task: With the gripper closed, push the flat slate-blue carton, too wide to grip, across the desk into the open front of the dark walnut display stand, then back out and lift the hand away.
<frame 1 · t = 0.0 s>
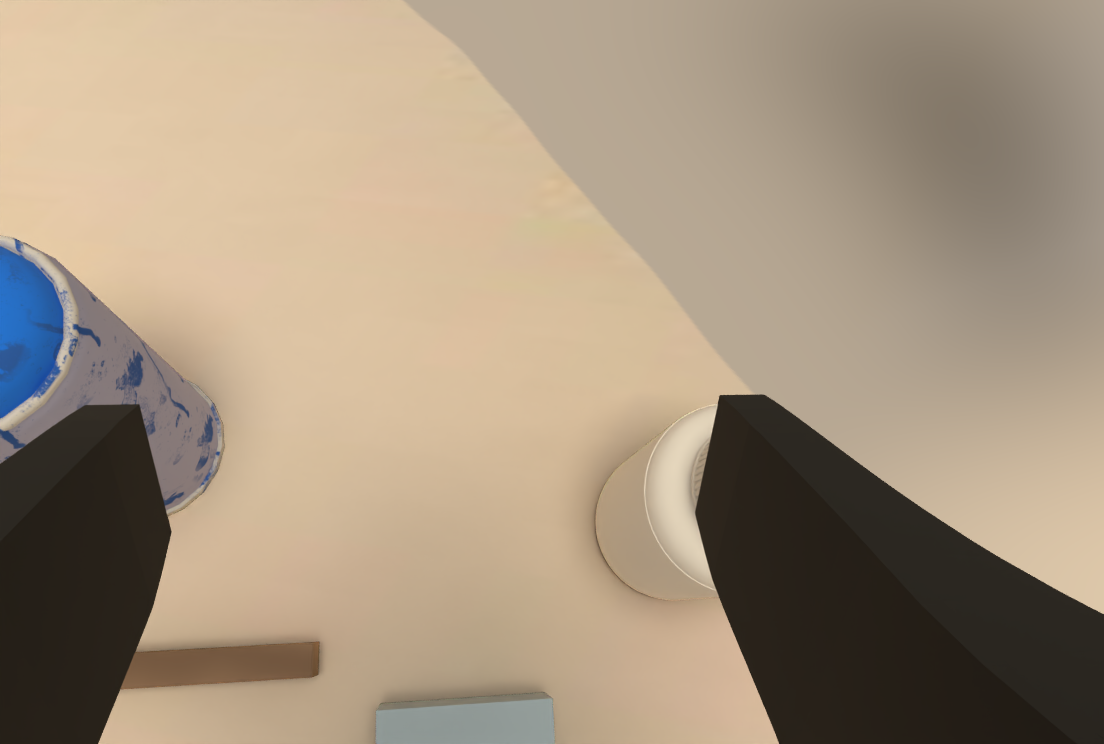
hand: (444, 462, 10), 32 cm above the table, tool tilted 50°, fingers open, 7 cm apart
pill bottle: (664, 525, 43), on the table
aerosol can: (145, 446, 41), on the table
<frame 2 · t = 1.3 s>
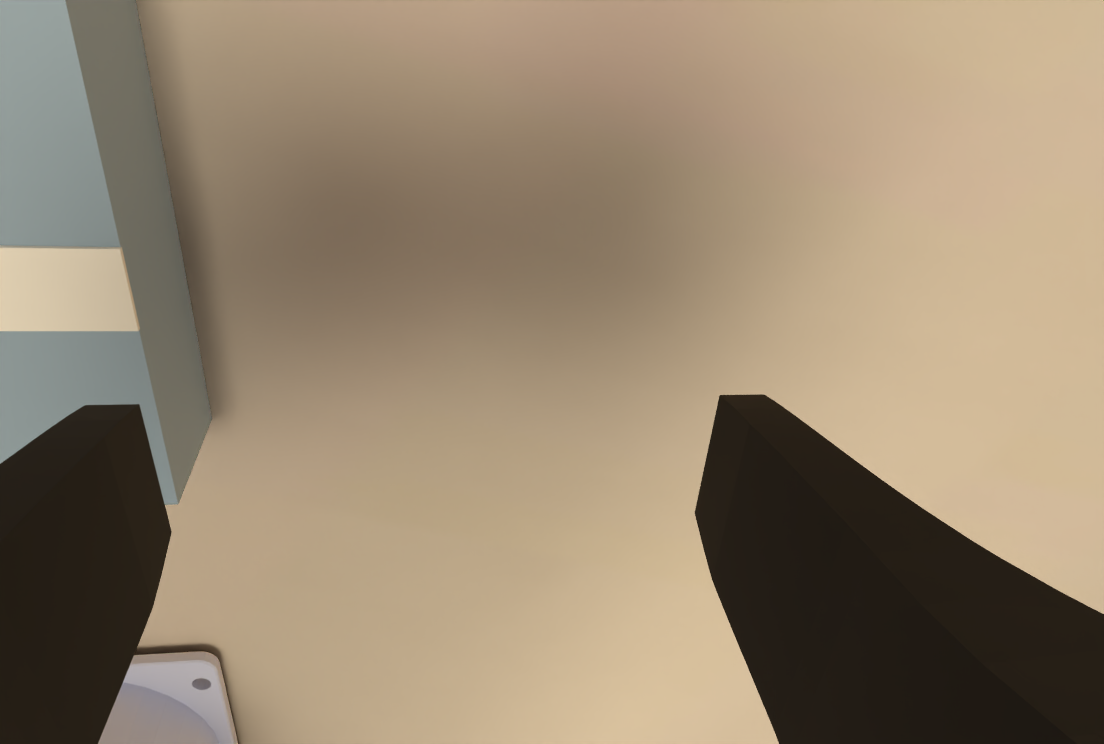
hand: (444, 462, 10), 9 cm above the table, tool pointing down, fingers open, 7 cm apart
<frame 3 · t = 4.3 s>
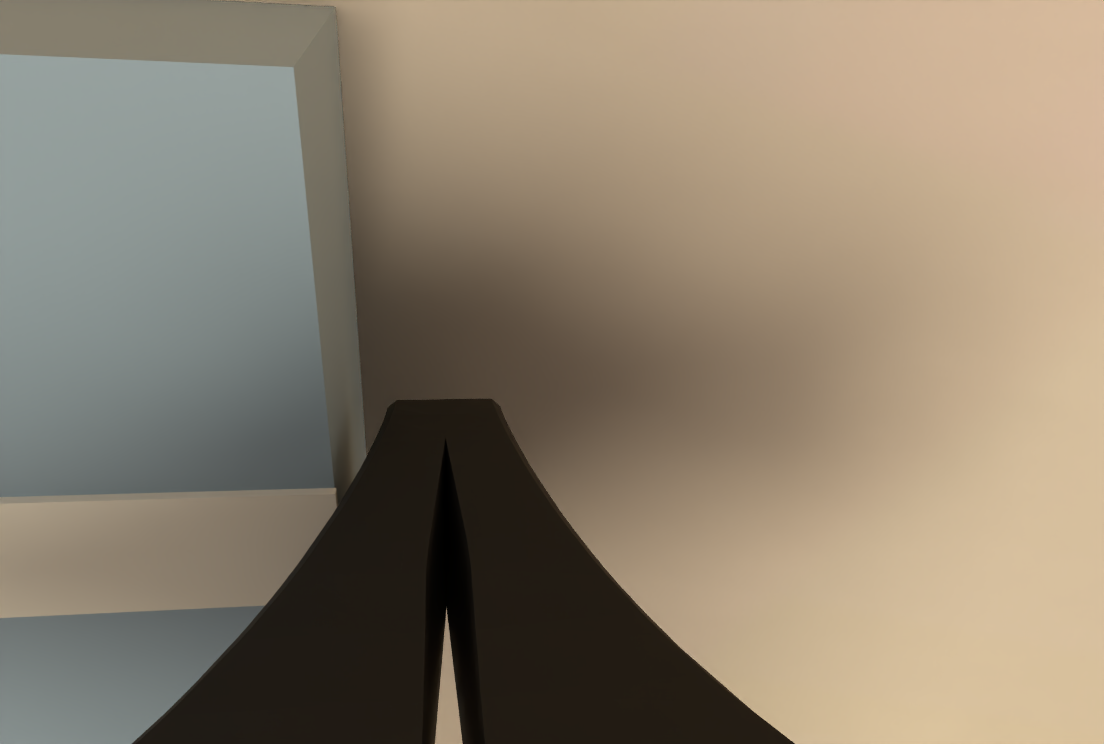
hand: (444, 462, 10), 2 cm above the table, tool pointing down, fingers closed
carton: (70, 376, 11), on the table
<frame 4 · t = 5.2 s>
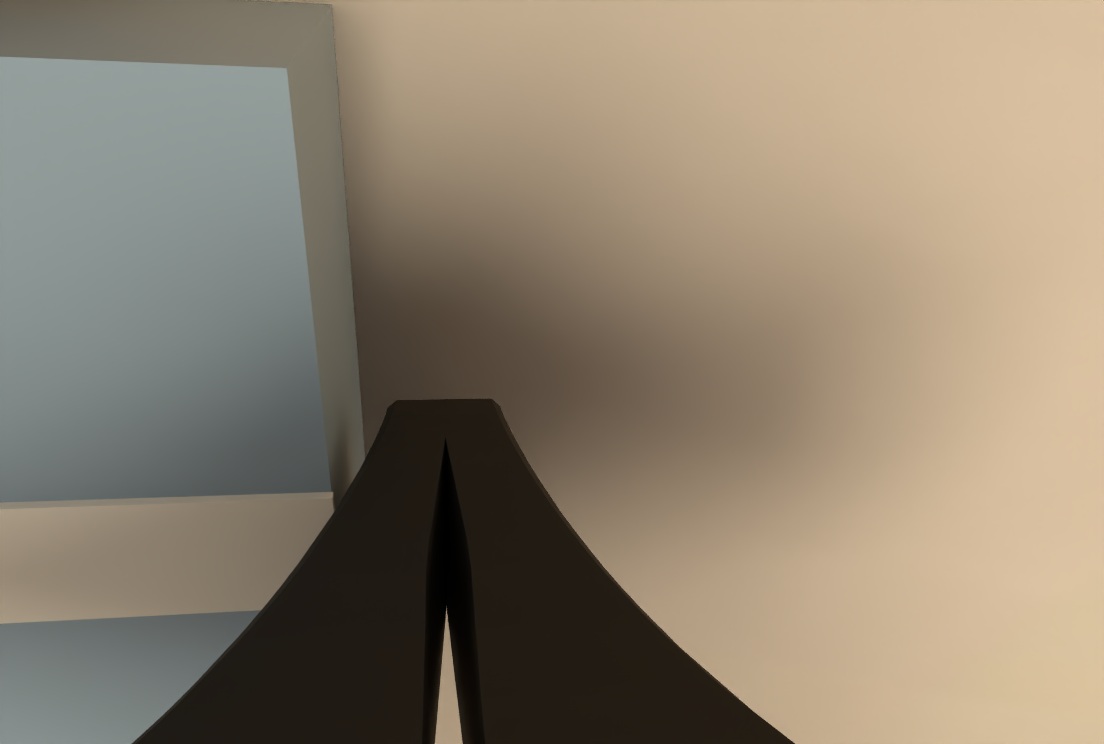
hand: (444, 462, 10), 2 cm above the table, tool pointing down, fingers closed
carton: (65, 379, 11), on the table, touching gripper
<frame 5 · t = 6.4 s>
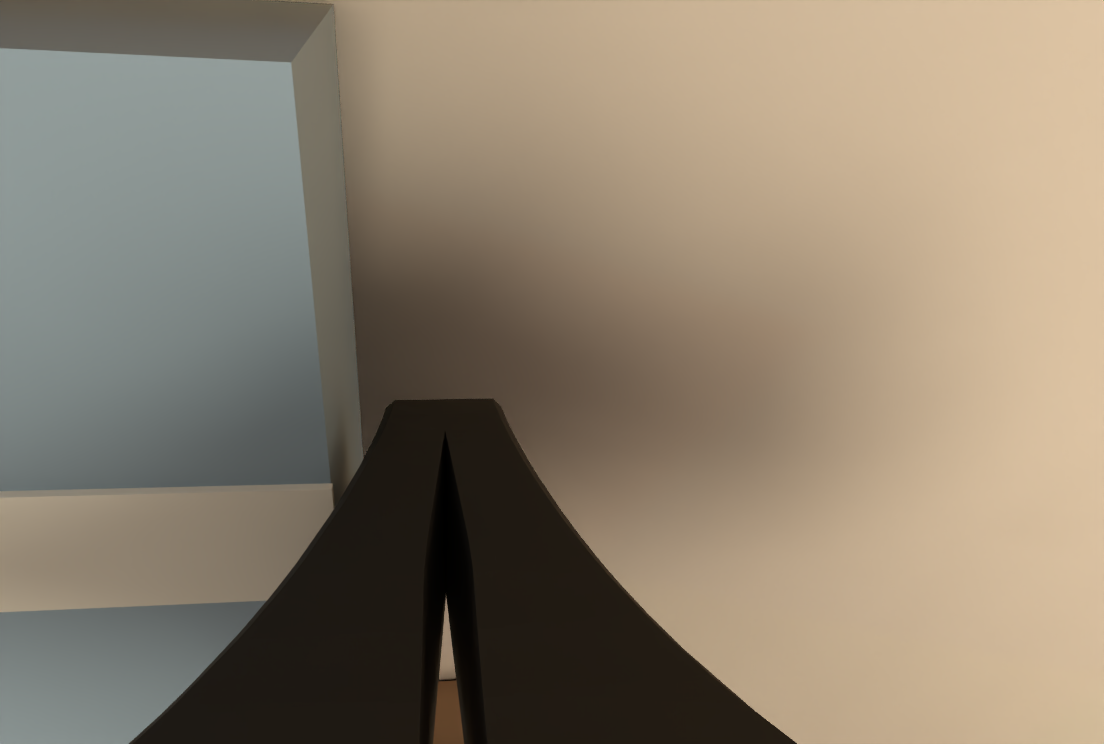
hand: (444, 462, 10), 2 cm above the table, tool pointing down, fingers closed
display stand: (34, 399, 11), on the table
carton: (67, 372, 11), on the table
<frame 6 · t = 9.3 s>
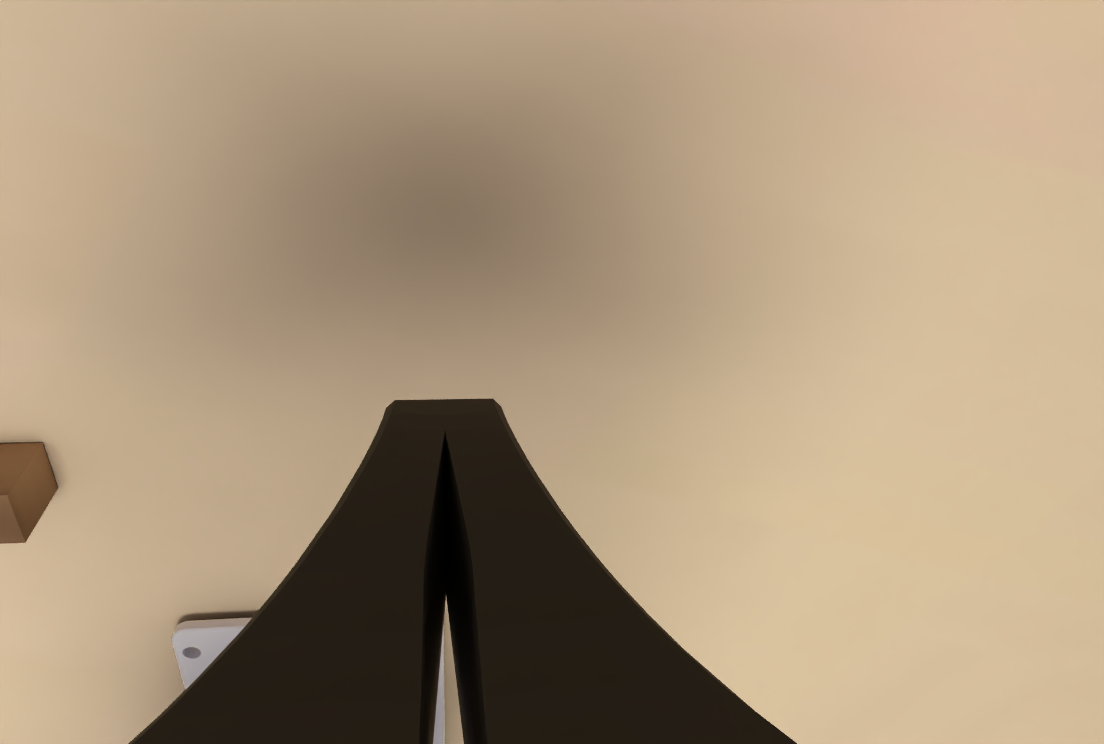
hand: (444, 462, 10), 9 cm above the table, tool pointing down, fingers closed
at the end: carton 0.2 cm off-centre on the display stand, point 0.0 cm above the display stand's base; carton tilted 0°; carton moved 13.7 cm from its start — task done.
